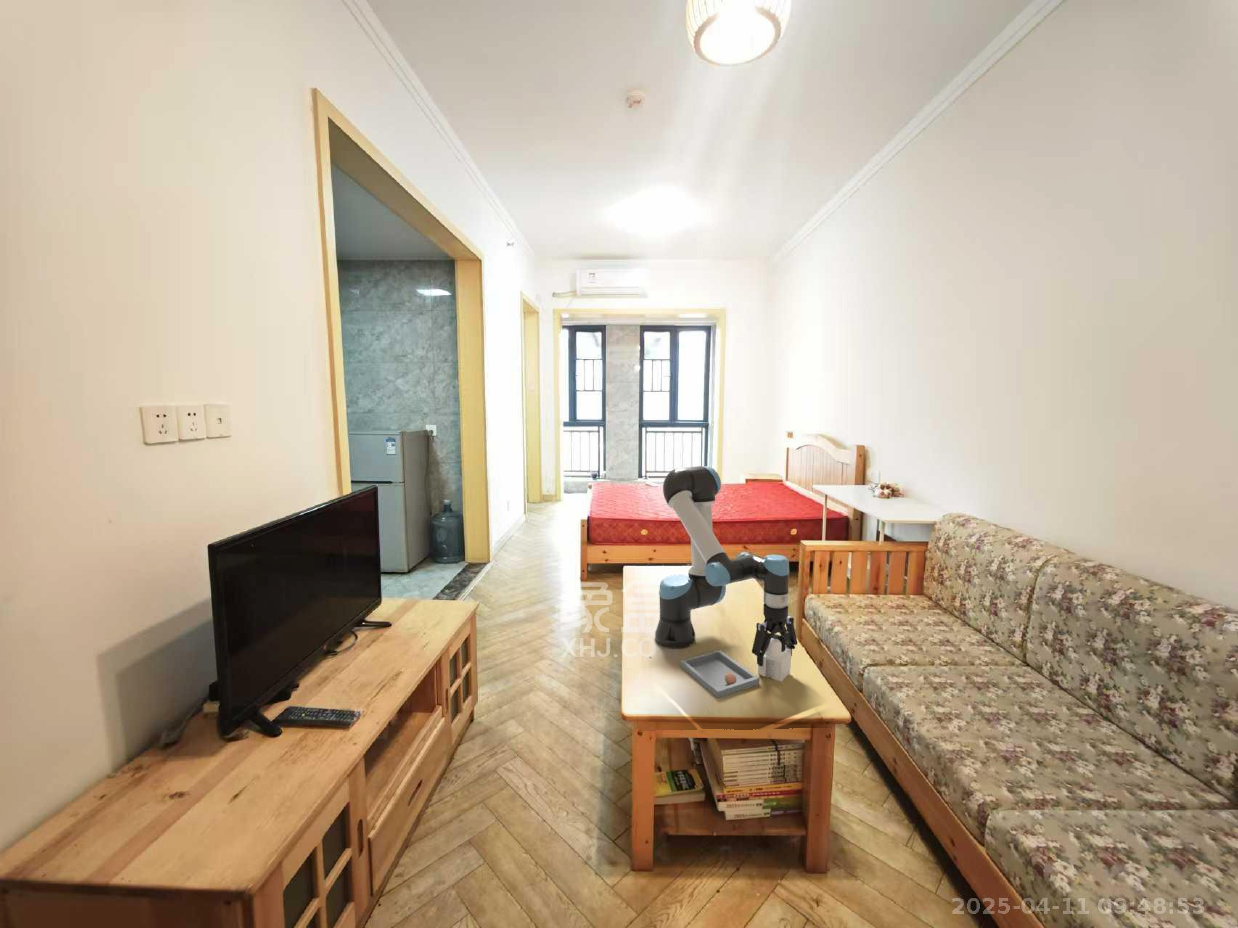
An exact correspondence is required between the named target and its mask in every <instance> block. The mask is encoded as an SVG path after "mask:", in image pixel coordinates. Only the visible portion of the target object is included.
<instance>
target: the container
mask: <svg viewBox="0 0 1238 928" xmlns="http://www.w3.org/2000/svg"><path fill="white" fill-rule="evenodd" d="M764 656H766V676H765V677H766V678H769V679H772V680H774V681H778V682H783V681H784V680H785V679H786V678H787V676H789V675H790V674H791V668H790V659H791V660H792V656H791V652H789V651H786V640H785V638H784V637H782V636H781V635H780V634H777V633H776V634H774V636H773V637H772V638H771V640H770V643H769V645H768V647H767V650H766V652H765V655H764Z"/></svg>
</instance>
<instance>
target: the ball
mask: <svg viewBox="0 0 1238 928" xmlns="http://www.w3.org/2000/svg"><path fill="white" fill-rule="evenodd" d="M725 681H726V683H727V684H728V685H731V684H734V683H736V676H735V675H734V674H733V673H728V674H726V676H725Z"/></svg>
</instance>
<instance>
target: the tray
mask: <svg viewBox="0 0 1238 928" xmlns="http://www.w3.org/2000/svg"><path fill="white" fill-rule="evenodd" d="M680 667H681V669H683V670H684V671H685V672H687V674H689V676H691V677H693V679H695V681H696V682H698V683H699V684H700V685H702V686H703V688H705V689H706V690H708V691H709V692H710V693H711V694H712V695H713V696H715V698H716V699H720V698H724V697H727V696H729V695H732V694H734V693H737V692H740V691H743V690H746V689H751V688H753V687H756V686H758V685H760V677H759V676H757V675H756V674H755V673H753V672H752V671H750V670H749V669H747V668H746V667H745V666H743V665H742V664H741V663H739V662H737V661H736V660H735V659H733V658H732V657H730V656H729V655H728V654H726V653H725V652H723V651H722V650H720V649H717V650H715V651H710V652H707V653H703V654H699V655H696V656H692V657H689V658H685V659H683V660H680ZM728 673H733V674H734V675H735V676H736V683H734V684H731V685H728V684H727V683H726V681H725V676H726V674H728Z"/></svg>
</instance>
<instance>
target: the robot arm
mask: <svg viewBox="0 0 1238 928" xmlns="http://www.w3.org/2000/svg"><path fill="white" fill-rule="evenodd" d="M721 489H722V482H721V477H720V476H719V473H718V472H717V471H716V469H714V468H713V467H712V466H709V465H708V466H705V465H704V466H703V465H699V466H698V465H697V466H689V467H678V468H675V469H673V470H671V471H669V473H667V475H666V476H665V478H664V481H663V485H662V493H663V497H664V500H665V502H666V504H667V505H668V507H669V508H670V509H672V510H674V512H675V514H676V515H677V517H678V519H679V521H680V522H681V524H682V525H683V527H684V529H685V530H686V532H687V534H688V536H689V538H690V550H691V552H690V553H691V567H690V568H689V569H688V574H687V575H688V576H687V575H685V574H678V575H677V574H673V575H670V576H666V577H665V578H663V579H662V580H661V582H660V584H659V590H658V591H659V592H658V596H659V620H658V622H657V623H658V624H657V626H656V630H655V632H654V633H655V635H654V636H655V637H654V640H655V641H656V642H657V643H658V644H659V645H661V646H663V647H666V648H669V649H683V648H689V647H691V646H692V645H694V644H695V642H696V632H695V629H694V625H693V623H692V617H691V615H692V613H691V612H692V610H697V609H700V608H706V607H708V606H713V605H716V604H718V603H721V601H723V600H724V597H725V596H726V592H727V591H726V589H727V587H726V586H727V585H730V584H733V583H737V582H743V581H747V580H750V579H754V580H757V581H759V582H761V583H763V604H762V605H763V607H762V608H763V610H762V613H763V617H764V620H763V622H762V623H760V622H757V623H756V627H755V628H756V632H755V636H754V639H753V644H752V649H751V654H753V655H754V656H756V664H757V673H758V674H759V675H760V676H762V677H766V656H764V655H765V652H766V650H767V647H768V645H769V643H770V640H771V638H772V637H773V636H774V634H777V633H779V635H780V636H782V637H784V638H785V640H786V651H789V652H791V657H792V656H793V650H794V649H796V646H797V645H798V638H797V634H796V629H795V625H794V624H795V618H794V617H792V616H791V615H789V606H788V605H789V581H790V562H789V559H788V558H787V557H786V556H784V555H781V554H780V555H779V554H768V555H765V556H764V557H763V556H759V555H757V554H754V553H752V552H746V551H743V552H740V553H739V554H738V555H736V557H734V558H730V557H729V555H728V554H727V553H726V551H725V550H724V548H723V546H722V544H721V543H720V542H719V540H718V538H717V537H716V535H715V534H714V532H713V529H714V528H713V527H714V526H713V510H712V509H713V507H712V505H713V504H714V503H715V502H716V496H717V495H718V494H719V493H720V491H721ZM791 661H792V658H791V659H790V669H791V665H792V662H791Z"/></svg>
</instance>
